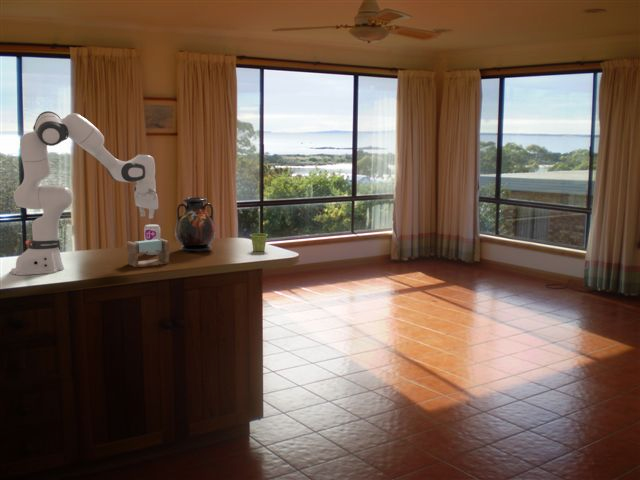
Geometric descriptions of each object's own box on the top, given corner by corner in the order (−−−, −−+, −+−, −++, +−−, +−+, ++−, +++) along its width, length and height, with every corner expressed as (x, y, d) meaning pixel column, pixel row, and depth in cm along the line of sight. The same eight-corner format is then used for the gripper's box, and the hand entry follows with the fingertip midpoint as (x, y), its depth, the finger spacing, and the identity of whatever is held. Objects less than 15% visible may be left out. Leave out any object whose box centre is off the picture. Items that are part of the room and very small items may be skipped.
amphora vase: (176, 254, 358) (174, 200, 354) (174, 247, 379) (173, 196, 374) (217, 253, 363) (217, 200, 359) (214, 246, 384) (213, 196, 379)
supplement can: (157, 255, 355) (156, 226, 353) (142, 254, 357) (141, 226, 355) (163, 252, 363) (162, 224, 361) (149, 252, 365) (148, 223, 363)
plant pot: (271, 250, 373) (271, 234, 372) (260, 252, 366) (260, 236, 364) (257, 248, 378) (257, 232, 377) (246, 251, 371) (246, 235, 369)
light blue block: (161, 249, 335) (161, 240, 334) (139, 252, 327) (138, 243, 327) (156, 248, 339) (156, 239, 338) (134, 251, 331) (134, 241, 330)
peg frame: (134, 267, 326) (134, 244, 324) (128, 264, 333) (127, 241, 331) (169, 263, 335) (168, 241, 334) (161, 260, 343) (161, 238, 341)
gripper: (161, 189, 323) (162, 219, 325) (144, 186, 339) (145, 214, 341) (148, 190, 319) (149, 220, 321) (131, 187, 335) (132, 215, 337)
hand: (147, 217), depth 331 cm, fingers open, 8 cm apart
